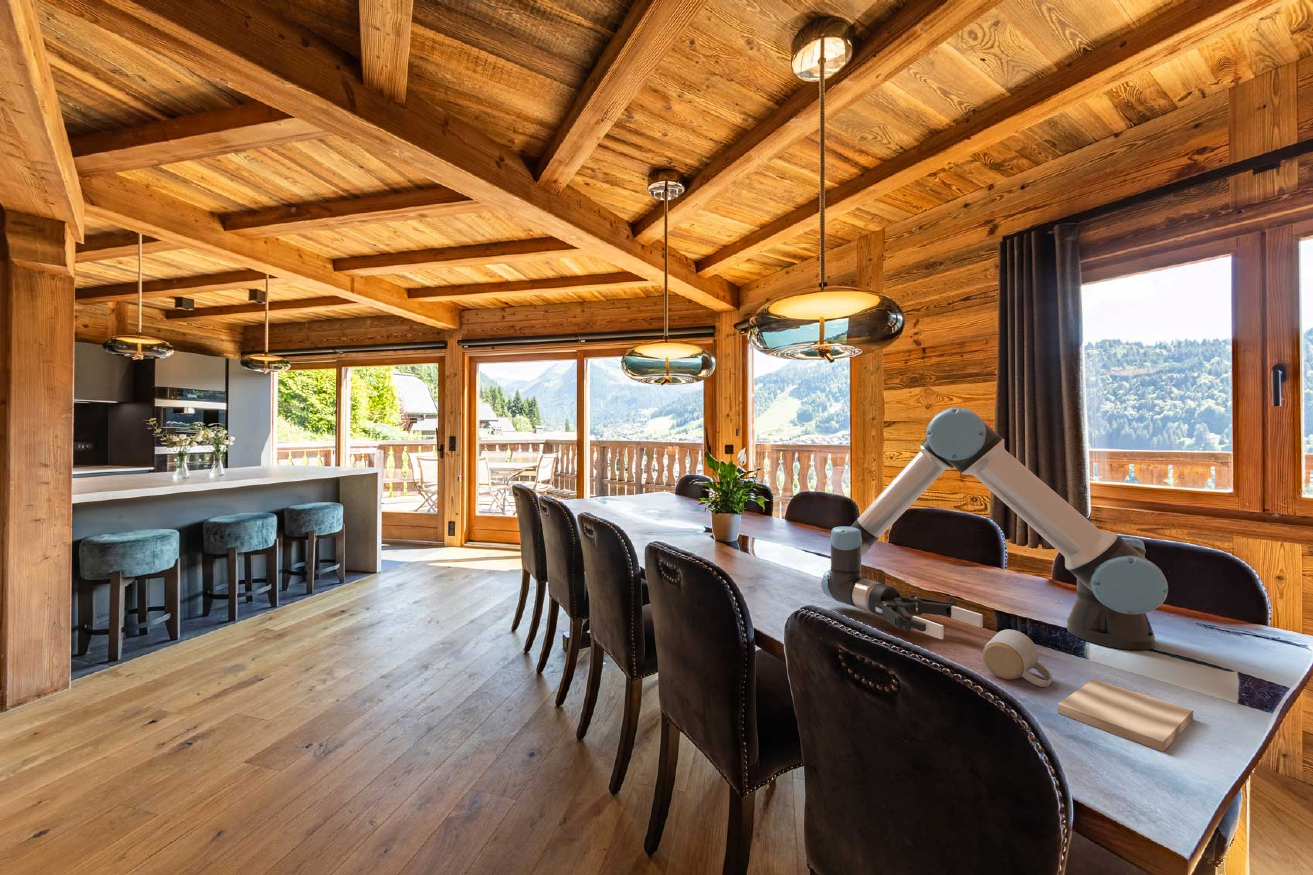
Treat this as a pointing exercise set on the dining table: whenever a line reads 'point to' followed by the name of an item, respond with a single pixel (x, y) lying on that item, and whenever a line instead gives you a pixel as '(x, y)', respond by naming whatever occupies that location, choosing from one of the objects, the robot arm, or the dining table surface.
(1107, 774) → the dining table surface
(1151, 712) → the birch board
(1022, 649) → the ceramic mug
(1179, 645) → the dining table surface
